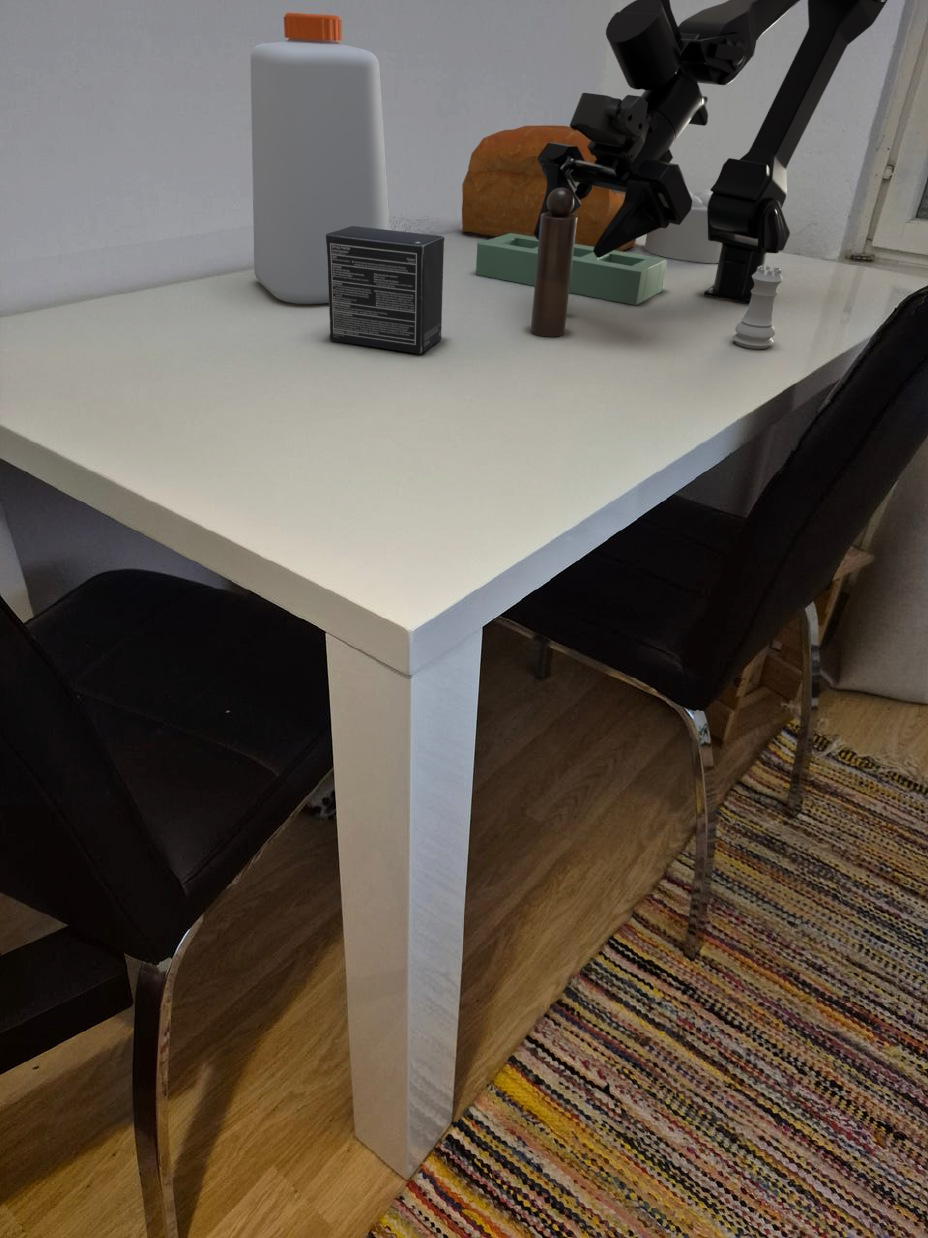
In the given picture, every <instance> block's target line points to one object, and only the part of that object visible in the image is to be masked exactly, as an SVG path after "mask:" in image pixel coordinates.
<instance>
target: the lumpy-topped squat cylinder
mask: <svg viewBox="0 0 928 1238" xmlns="http://www.w3.org/2000/svg"><path fill="white" fill-rule="evenodd" d="M710 190H711V189H707V188H703V189H699V190H697V191H694V192H693V193H692V192H691V191H690V193H691V195H692V199H693V202H692V207H691V210H690V212H689V213H688V214H687V216H686V217H685V219H684V220H683V221H682V223H681V224H680V225H676V224H672V223H669V226H668V227H667V228H665V229H664V228H659V229H657V230H654V231H652V232H650V233H648V234H646V236H645V243H644V250H645V251H647V252H648V253H651V254H654V255H655V256H660V257H662V258H663V257H664V258H666V259H674V260H680V261H686V262H693V263H702V264H718V263H719V258H720V253H721V248H722V243H720V242H716V241H709V240H708V219H707V206H708V202H709V199H710V197H711V194H712V193H713V192H711V191H710Z"/></svg>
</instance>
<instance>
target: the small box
mask: <svg viewBox="0 0 928 1238" xmlns="http://www.w3.org/2000/svg"><path fill="white" fill-rule="evenodd" d="M326 244H327V256H328V285H329V303H328V305H329V308H328V309H329V340H330V341H332V342H337V343H344V344H351V345H357V346H358V345H359V346H364V347H365V346H366V347H372V348H378V349H384V350H392V351H398V352H405V353H411V354H416V355H417V354H418V355H421V354H423V353H425V352H426V351H427V350H428V349H429V348H430V347H432V346H434V345H435V344H436V343H438V342H439V341H440V340H441V339H442V324H443V322H442V321H443V285H444V282H443V281H444V253H445V251H444V250H445V236H444V235H438V234H427V233H421V232H420V233H419V232H410V231H402V230H401V231H400V230H393V229H392V230H391V229H390V230H384V229H376V228H367V227H357V226H351V227H348V228H344V229H341V230H338V231H334V232H331V233H327V234H326Z"/></svg>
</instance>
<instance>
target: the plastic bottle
mask: <svg viewBox="0 0 928 1238" xmlns="http://www.w3.org/2000/svg"><path fill="white" fill-rule="evenodd" d="M283 28H284V29H283V30H284V38H285V39H287V40H283V41H276V42H266V43H265V42H264V43H260V44H257V45H255V46H254V47H253V48H252V50H251V53H250V105H251V106H250V107H251V161H252V164H251V165H252V216H253V217H252V219H253V220H252V221H253V268H254V269H253V271H254V276H255V278H256V280H257V281H258V282H259V283H260V284H261V285H262V286H264V288H265V289H267V291H268V292H270V294H272V295H273V296H274V297H275V298H276V299H278V300H279V301H282V302H284V303H288V304H289V303H290V304H296V305H319V304H329V285H328V256H327V244H326V234H327V233H331V232H334V231H338V230H341V229H344V228H348V227H351V226H357V227H367V228H376V229H384V230H391V226H390V210H389V209H390V208H389V193H388V192H389V191H388V179H387V178H388V177H387V165H386V164H387V162H386V147H385V133H384V132H385V131H384V116H383V101H382V83H381V68H380V61H379V60H378V58H377V57H376V55H375V54H374V53H373V52H372V51H370V50H368V49H367V50H366V49H363V48H359V47H355V46H353V45H352V46H351V45H347V44H343V43H340V41H343V31H342V30H343V26H342V20H341V17H340V16H339V15H336V14H321V13H320V14H318V13H301V12H286V13H285V14H284V16H283Z"/></svg>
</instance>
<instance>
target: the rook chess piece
mask: <svg viewBox="0 0 928 1238" xmlns="http://www.w3.org/2000/svg"><path fill="white" fill-rule="evenodd" d="M764 268H765V269H764ZM771 269H772V266H771V265H766V267H765V265H764V266H759V267H757V271H756V272H755V273H754V274H753V275H752V278H753V281H754V288H753V289H752V290H751V293H752V296H751V300H750V303H748V306H747V309H746V312H745V314H744V316H743V317H742V318H741V321H740V322H739V323H738V324H736V325H735V328H734V331H735V332H736V334H734V335H732V339H733V341H734V344H736V345H737V346H739V347H742V348H746V349H750V350H751V349H752V350H766V349H768V348H770V347H771V346H772V345H773V344H774V340H773V337H774V336H776V330H775V327H774V322H773V309H774V303H775V299H776V297H777V296H778V292H777V287H778V286H779V285H780V284H781V283H782V282H783V281H784V278H783V276H782V271H783V269H782V268H780V267H778V266H774V267H773V270H771Z"/></svg>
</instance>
